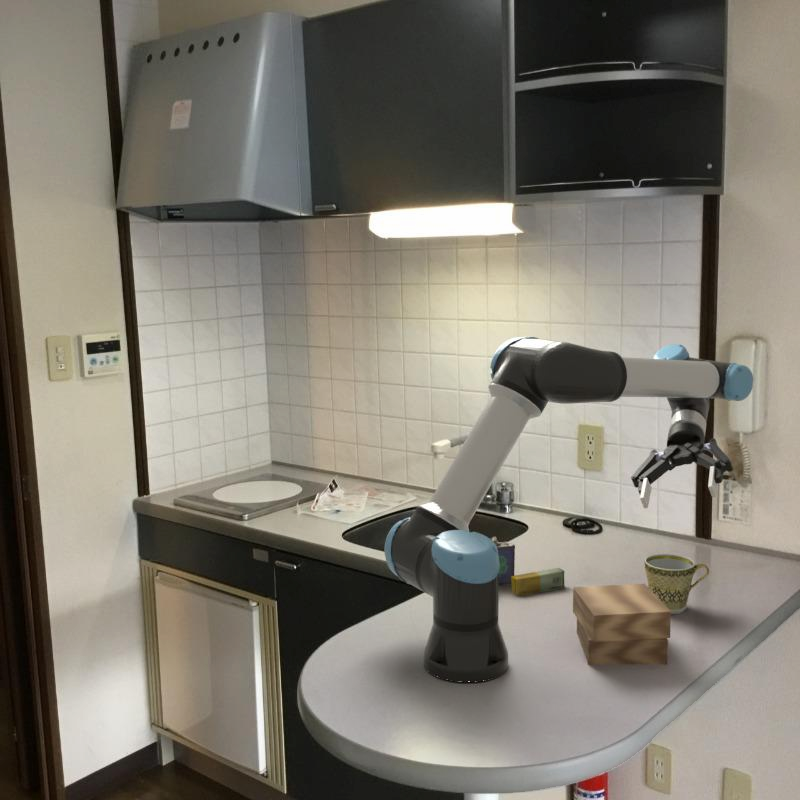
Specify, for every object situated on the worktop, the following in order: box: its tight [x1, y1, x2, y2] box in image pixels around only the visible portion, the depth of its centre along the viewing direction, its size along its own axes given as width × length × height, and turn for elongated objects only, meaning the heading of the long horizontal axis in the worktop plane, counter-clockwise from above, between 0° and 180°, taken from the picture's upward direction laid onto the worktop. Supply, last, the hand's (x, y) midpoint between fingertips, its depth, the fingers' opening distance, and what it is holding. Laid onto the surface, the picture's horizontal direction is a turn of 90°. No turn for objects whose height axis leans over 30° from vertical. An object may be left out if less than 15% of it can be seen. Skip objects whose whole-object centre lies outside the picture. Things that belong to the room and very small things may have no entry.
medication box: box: [510, 567, 566, 597], centre depth 211 cm, size 12×3×4 cm, turn 112°
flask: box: [489, 536, 516, 586], centre depth 214 cm, size 9×3×11 cm, turn 109°
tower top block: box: [572, 583, 672, 642], centre depth 180 cm, size 14×14×5 cm
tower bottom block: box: [576, 618, 669, 665], centre depth 181 cm, size 14×14×5 cm
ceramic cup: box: [644, 553, 710, 615], centre depth 199 cm, size 13×10×10 cm
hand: (677, 497), depth 192 cm, fingers open, 13 cm apart
